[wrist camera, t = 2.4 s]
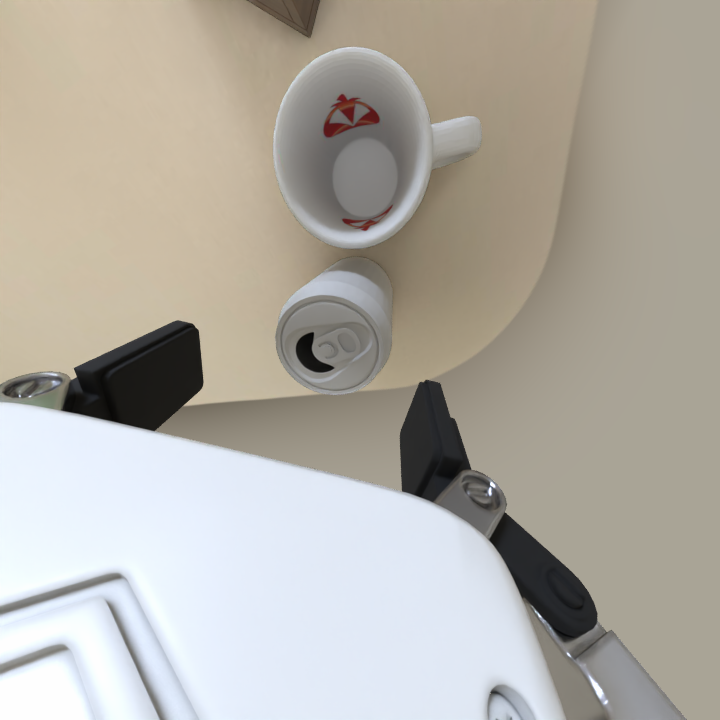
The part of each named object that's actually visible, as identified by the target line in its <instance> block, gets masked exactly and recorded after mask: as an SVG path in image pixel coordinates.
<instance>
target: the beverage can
mask: <svg viewBox="0 0 720 720" xmlns="http://www.w3.org/2000/svg"><path fill="white" fill-rule="evenodd" d="M392 299H393V292H392V285H391V282H390V279H389V277H388V276H387V274H386V272H385V271H384V270H383V269H382V268H381V267H380V266H379V265H378V264H376V263H375V262H373V261H371V260H369V259H366V258H363V257H348V258H344V259H341V260H339V261H337V262H336V263H334V264H333V265H332V266H330V267H329V268H328V269H326V270H325V271H324V272H322V273H321V274H319V275H318V276H317V277H315V278H314V279H313V280H311V281H310V282H309V283H307V284H306V285H305V286H303V287H302V288H301V289H299V290H298V291H296V292H295V293H294V294H293V295H292V296H291V297H290V298H289V299H288V300H287V302H286V303H285V305H284V306H283V308H282V311H281V313H280V316H279V321H278V326H277V330H276V336H275V338H276V349H277V353H278V356H279V359H280V361H281V363H282V365H283V366H284V368H285V369H286V371H287V372H288V373H289V374H290V375H291V376H292V377H293V378H294V379H295V380H296V381H297V382H299V383H300V384H301V385H303V386H305V387H306V388H308V389H310V390H313V391H316V392H319V393H323V394H328V395H343V394H348V393H352V392H355V391H357V390H359V389H361V388H363V387H365V386H366V385H367V384H369V383H370V382H371V381H372V380H373V379H374V378H375V376H376V375H377V374H378V373H379V372H380V370H381V369H382V368H383V367H384V365H385V363H386V362H387V360H388V357H389V354H390V351H391V345H392Z"/></svg>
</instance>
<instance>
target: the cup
mask: <svg viewBox="0 0 720 720" xmlns="http://www.w3.org/2000/svg"><path fill="white" fill-rule="evenodd" d="M481 139H482V129H481V123H480V121H479V119H478V118H477V117H474V116H465V117H460V118H455V119H452V120H448V121H444V122H440V123H435V124H431V121H430V117H429V113H428V110H427V107H426V104H425V101H424V99H423V97H422V95H421V93H420V91H419V89H418V87H417V86H416V84H415V83H414V81H413V80H412V78H411V77H410V76H409V75H408V73H407V72H406V71H405V70H404V69H403V68H402V67H401V66H400V65H399V64H398V63H396V62H395V61H394V60H392V59H391V58H389V57H388V56H386V55H384V54H382V53H380V52H377V51H375V50H372V49H368V48H362V47H344V48H339V49H335V50H332V51H329V52H327V53H325V54H323V55H321V56H319V57H317V58H316V59H315V60H313V61H312V62H311V63H309V64H308V65H307V66H306V67H305V68H304V69H303V70H302V71H301V72H300V73H299V74H298V75H297V77H296V78H295V79H294V81H293V82H292V84H291V85H290V87H289V88H288V90H287V92H286V94H285V96H284V98H283V101H282V103H281V106H280V108H279V112H278V115H277V119H276V124H275V129H274V138H273V159H274V167H275V173H276V177H277V181H278V185H279V188H280V191H281V193H282V196H283V198H284V200H285V202H286V204H287V206H288V208H289V209H290V211H291V213H292V214H293V215H294V217H295V218H296V219H297V221H298V222H299V223H300V224H301V225H302V226H303V227H304V228H305V229H306V230H307V231H308V232H309V233H310V234H312V235H313V236H314V237H316V238H318V239H319V240H321V241H323V242H325V243H327V244H330V245H332V246H336V247H339V248H345V249H361V248H367V247H371V246H374V245H377V244H379V243H381V242H384V241H385V240H387V239H389V238H390V237H392V236H393V235H395V234H396V233H397V232H398V231H399V230H400V229H401V228H403V227H404V226H405V224H406V223H407V222H408V221H409V220H410V219H411V217H412V216H413V214H414V213H415V212H416V210H417V208H418V206H419V205H420V203H421V201H422V199H423V197H424V194H425V192H426V189H427V186H428V183H429V179H430V174H431V170H432V169H436V168H439V167H443V166H446V165H449V164H452V163H455V162H458V161H460V160H463V159H465V158H467V157H469V156H471V155H473V154H474V153H475V152H477V150H478V149H479V147H480V145H481Z"/></svg>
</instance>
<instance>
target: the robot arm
mask: <svg viewBox="0 0 720 720" xmlns="http://www.w3.org/2000/svg"><path fill="white" fill-rule="evenodd" d="M74 370H75V373H76V375H77V378H75V379H73V380H71V379H70V377H69V376H68V375H67V374H64V373H61V372H37V373H30V374H26V375H22V376H18V377H15V378H13V379H10V380H7V381H6V382H4V383H2V384H0V720H686V718H685V717H684V716H683V715H682V714H681V712H680V711H679V710H678V709H677V708H676V706H675V705H674V704H673V703H672V702H671V701H670V699H669V698H668V697H667V696H666V694H665V693H664V692H663V691H662V690H661V688H659V686H658V685H657V684H656V682H655V681H654V680H653V679H652V678H651V677H650V675H649V674H648V673H647V672H646V670H645V669H644V668H643V667H642V666H641V664H640V663H639V662H638V661H637V660H636V658H635V657H634V656H633V655H632V654H631V652H630V651H629V650H628V649H627V648H626V647H625V645H624V644H623V643H622V642H621V640H620V639H619V638H618V637H617V636H616V634H615V633H614V632H613V631H612V630H610V631H608V632H606V631H605V630H604V628H603V627H602V626H601V625H600V623H599V622H598V621H597V611H596V608H595V605H594V602H593V600H592V598H591V596H590V594H589V592H588V591H587V589H586V588H585V587H584V585H583V584H582V582H581V581H580V580H579V579H578V578H577V577H576V576H575V575H574V574H573V573H572V572H571V571H570V570H569V569H568V568H567V567H566V566H565V565H564V564H562V563H561V562H560V561H559V560H558V559H557V558H556V557H555V556H553V555H552V554H551V553H550V552H549V551H548V550H547V549H546V548H544V547H543V546H542V545H541V544H540V543H539V542H538V541H537V540H536V539H534V538H533V537H532V536H531V535H530V534H529V533H527V532H526V531H525V530H524V529H523V528H522V527H521V526H520V525H519V524H517V523H516V522H515V521H514V520H513V519H512V518H511V517H510V516H509V515H507V514H506V513H505V510H506V506H507V503H506V498H505V496H504V494H503V492H502V490H501V489H500V487H499V486H498V485H497V484H496V483H495V482H494V481H493V480H492V479H491V478H489V477H488V476H486V475H485V474H483V473H480V472H478V471H475V470H471V467H470V464H469V461H468V458H467V455H466V452H465V448H464V445H463V442H462V439H461V436H460V433H459V430H458V427H457V424H456V421H455V419H453V418H451V417H450V414H449V411H448V408H447V404H446V401H445V398H444V395H443V391H442V388H441V384H440V383H438V382H434V381H429V380H425V382H424V383H423V382H420V383H419V385H418V388H417V390H416V393H415V395H414V398H413V401H412V403H411V406H410V408H409V411H408V413H407V416H406V419H405V422H404V424H403V426H402V429H401V432H400V453H401V477H402V491H398V490H395V489H391V488H388V487H384V486H381V485H376V484H373V483H369V482H364V481H361V480H356V479H353V478H349V477H345V476H341V475H337V474H333V473H329V472H325V471H320V470H316V469H312V468H308V467H304V466H300V465H295V464H291V463H287V462H283V461H279V460H275V459H270V458H266V457H262V456H258V455H254V454H250V453H245V452H241V451H237V450H232V449H228V448H224V447H220V446H216V445H211V444H207V443H203V442H198V441H194V440H190V439H186V438H181V437H177V436H173V435H168V434H164V433H160V432H155V430H156V429H157V428H159V427H160V426H161V425H162V424H163V423H164V422H165V421H166V420H167V419H169V418H170V417H171V416H172V415H173V414H174V413H175V412H176V411H178V410H179V409H180V408H181V407H182V406H183V405H184V404H185V403H187V402H188V401H189V400H190V399H191V398H192V397H193V396H194V395H196V394H197V393H198V392H199V391H200V390H201V389H202V387H203V372H202V361H201V350H200V339H199V331H198V329H197V328H195V326H194V325H193V324H191V323H187V322H183V321H178V320H177V321H174V322H172V323H170V324H168V325H166V326H163V327H161V328H159V329H157V330H155V331H153V332H150V333H148V334H146V335H144V336H142V337H140V338H138V339H135V340H133V341H131V342H129V343H127V344H125V345H123V346H120V347H118V348H116V349H114V350H112V351H110V352H107V353H105V354H103V355H101V356H99V357H97V358H95V359H92V360H90V361H88V362H86V363H84V364H82V365H80V366H77V367H75V368H74ZM490 693H491V694H490Z"/></svg>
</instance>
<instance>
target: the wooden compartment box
mask: <svg viewBox="0 0 720 720" xmlns="http://www.w3.org/2000/svg"><path fill="white" fill-rule="evenodd" d="M248 1H249V2H251V3H253V4H254V5H256V6H258V7H259V8H261V9H263V10H264V11H266V12H267V13H269V14H271V15H272V16H274V17H276V18H277V19H279V20H281V21H282V22H284V23H286V24H287V25H289V26H291V27H292V28H294V29H296V30H297V31H299V32H301V33H302V34H304V35H306V36H307V37H309V38H310V37H311V32H312V28H313V24H314V20H315V16H316V12H317V8H318V4H319V0H248Z"/></svg>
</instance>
